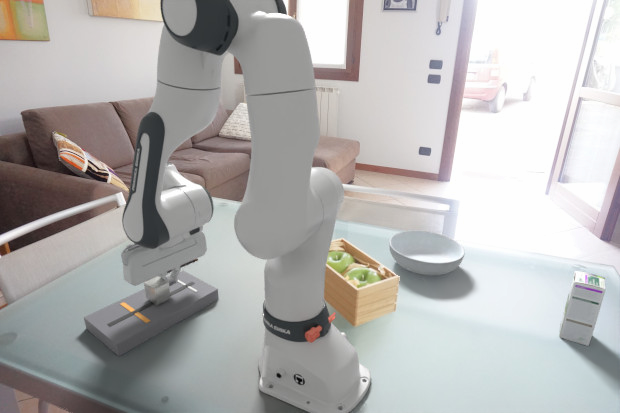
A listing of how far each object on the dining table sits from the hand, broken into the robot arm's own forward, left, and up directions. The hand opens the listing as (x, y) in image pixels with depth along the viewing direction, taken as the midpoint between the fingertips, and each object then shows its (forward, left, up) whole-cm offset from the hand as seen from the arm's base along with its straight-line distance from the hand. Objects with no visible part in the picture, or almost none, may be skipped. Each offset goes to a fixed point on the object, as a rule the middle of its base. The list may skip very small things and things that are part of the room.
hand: (170, 284), depth 98 cm
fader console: (0, +5, -6) cm, 7 cm away
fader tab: (0, +4, -2) cm, 4 cm away
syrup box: (-79, -49, -6) cm, 93 cm away
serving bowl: (-40, -57, -6) cm, 70 cm away
